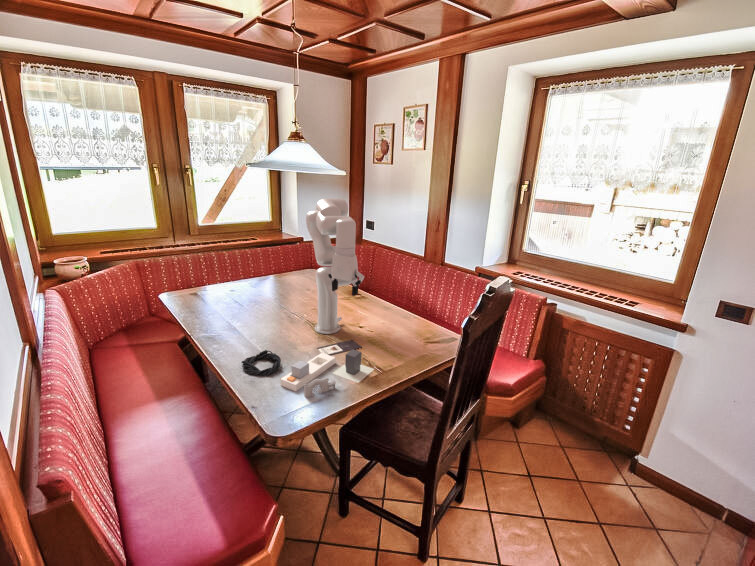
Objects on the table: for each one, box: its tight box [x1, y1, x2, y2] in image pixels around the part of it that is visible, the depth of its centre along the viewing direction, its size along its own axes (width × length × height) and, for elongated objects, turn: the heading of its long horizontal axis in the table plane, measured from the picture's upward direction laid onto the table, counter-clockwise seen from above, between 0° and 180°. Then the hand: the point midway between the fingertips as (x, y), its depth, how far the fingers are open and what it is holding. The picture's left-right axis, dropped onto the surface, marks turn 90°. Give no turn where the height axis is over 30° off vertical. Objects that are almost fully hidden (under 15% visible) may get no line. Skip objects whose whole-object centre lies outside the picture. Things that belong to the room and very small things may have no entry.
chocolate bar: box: [316, 339, 363, 356], centre depth 164 cm, size 9×1×18 cm
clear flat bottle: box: [303, 377, 337, 398], centre depth 130 cm, size 12×2×6 cm, turn 124°
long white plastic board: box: [280, 352, 336, 392], centre depth 142 cm, size 24×7×4 cm, turn 151°
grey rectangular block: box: [344, 349, 362, 375], centre depth 144 cm, size 5×4×8 cm
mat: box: [331, 363, 375, 384], centre depth 146 cm, size 12×12×1 cm
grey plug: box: [291, 360, 309, 379], centre depth 137 cm, size 5×4×6 cm
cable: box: [241, 349, 282, 377], centre depth 146 cm, size 17×14×4 cm
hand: (344, 292), depth 150 cm, fingers open, 9 cm apart
